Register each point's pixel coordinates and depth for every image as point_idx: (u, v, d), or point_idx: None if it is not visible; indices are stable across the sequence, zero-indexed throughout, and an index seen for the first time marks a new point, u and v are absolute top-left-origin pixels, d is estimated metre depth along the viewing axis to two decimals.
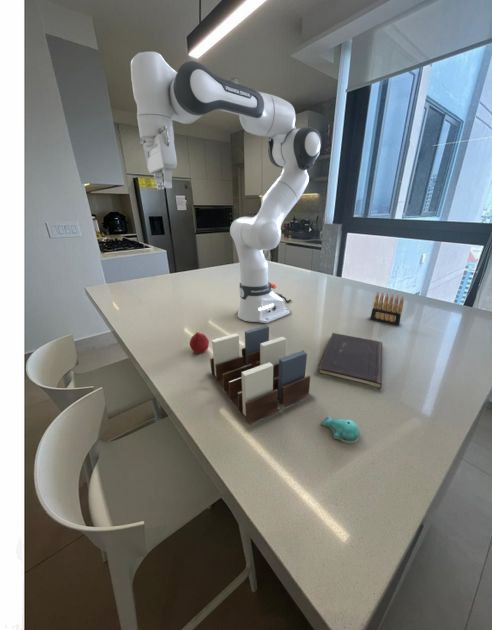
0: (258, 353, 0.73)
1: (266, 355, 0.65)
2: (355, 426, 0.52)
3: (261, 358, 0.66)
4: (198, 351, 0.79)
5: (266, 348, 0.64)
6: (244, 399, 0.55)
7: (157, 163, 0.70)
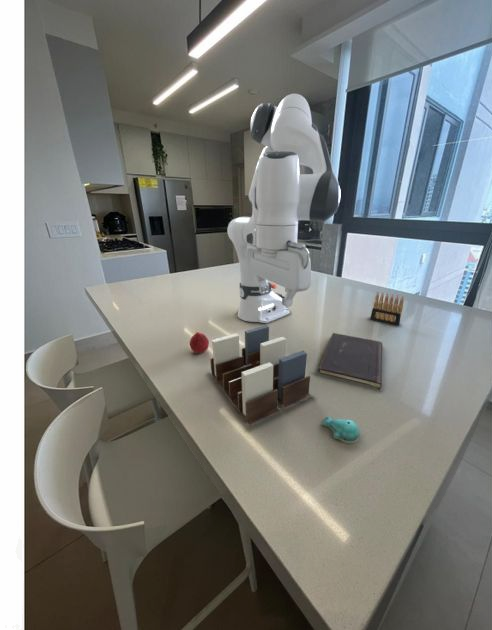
0: (258, 353, 0.73)
1: (266, 355, 0.65)
2: (355, 426, 0.52)
3: (261, 358, 0.66)
4: (198, 351, 0.79)
5: (266, 348, 0.64)
6: (244, 399, 0.55)
7: (278, 279, 0.55)
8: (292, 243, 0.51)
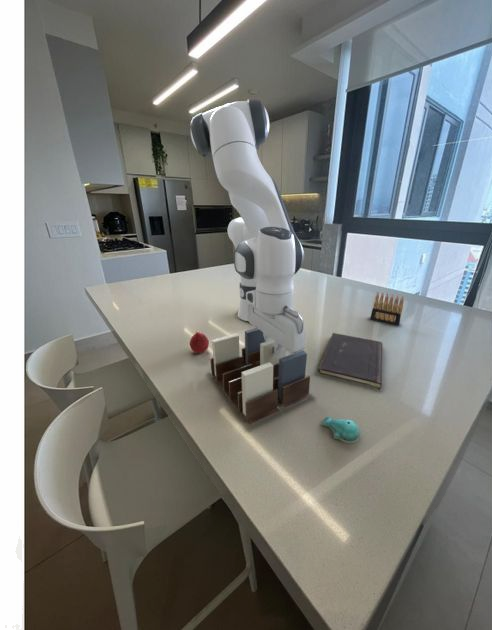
0: (258, 353, 0.73)
1: (266, 355, 0.65)
2: (355, 426, 0.52)
3: (261, 358, 0.66)
4: (198, 351, 0.79)
5: (266, 348, 0.64)
6: (244, 399, 0.55)
7: (276, 338, 0.60)
8: (288, 310, 0.56)
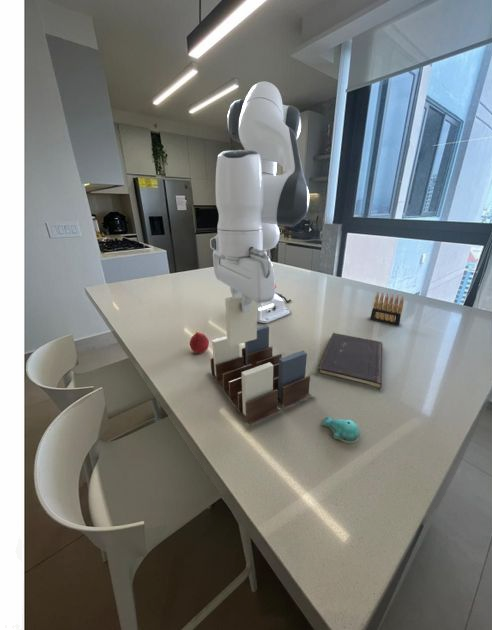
0: (258, 353, 0.73)
1: (232, 312, 0.55)
2: (355, 426, 0.52)
3: (227, 316, 0.56)
4: (198, 351, 0.79)
5: (232, 303, 0.54)
6: (244, 399, 0.55)
7: (242, 288, 0.51)
8: (254, 250, 0.47)
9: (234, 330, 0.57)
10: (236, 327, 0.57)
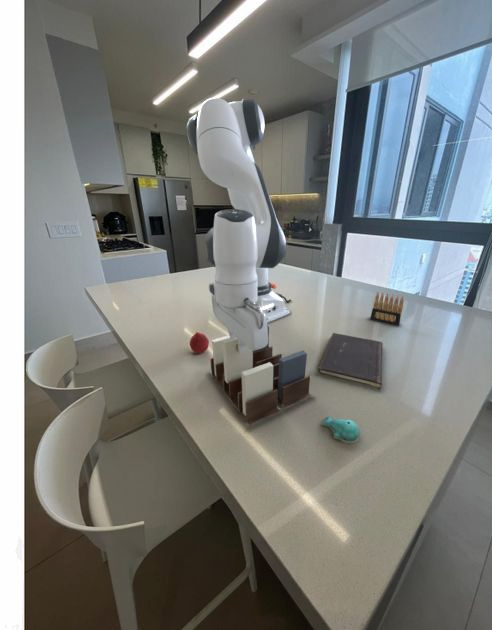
0: (258, 353, 0.73)
1: (229, 353, 0.59)
2: (355, 426, 0.52)
3: (224, 356, 0.59)
4: (198, 351, 0.79)
5: (229, 345, 0.58)
6: (244, 399, 0.55)
7: (238, 334, 0.54)
8: (248, 302, 0.50)
9: (231, 368, 0.61)
10: (233, 366, 0.61)
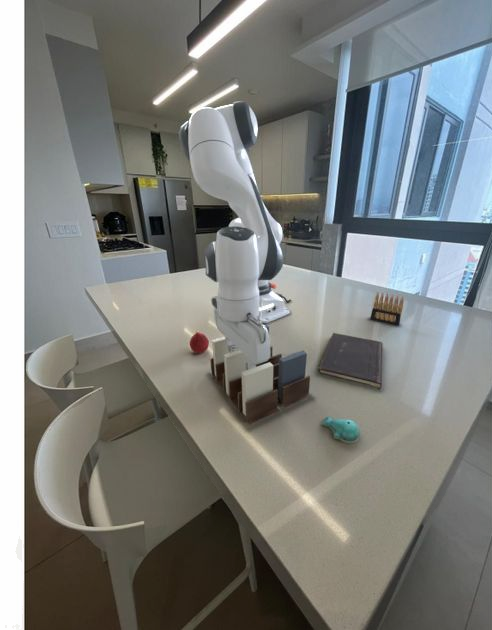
0: None
1: (230, 367, 0.60)
2: (355, 426, 0.52)
3: (225, 370, 0.61)
4: (198, 351, 0.79)
5: (230, 359, 0.60)
6: (244, 399, 0.55)
7: (241, 347, 0.56)
8: (251, 317, 0.52)
9: None
10: None
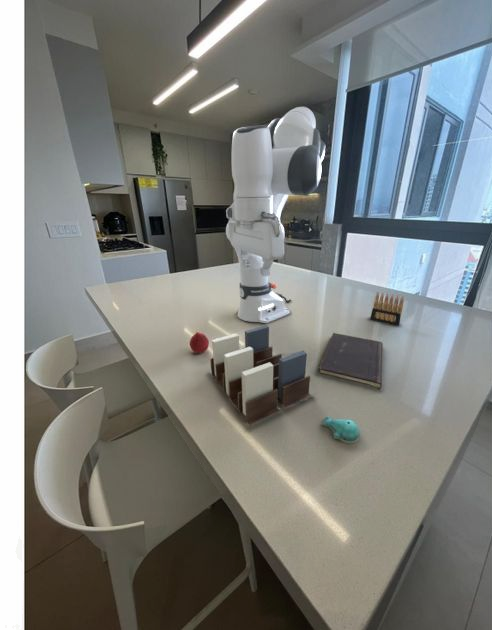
0: (258, 353, 0.73)
1: (230, 367, 0.60)
2: (355, 426, 0.52)
3: (225, 370, 0.61)
4: (198, 351, 0.79)
5: (230, 359, 0.60)
6: (244, 399, 0.55)
7: (255, 249, 0.59)
8: (266, 214, 0.54)
9: None
10: None
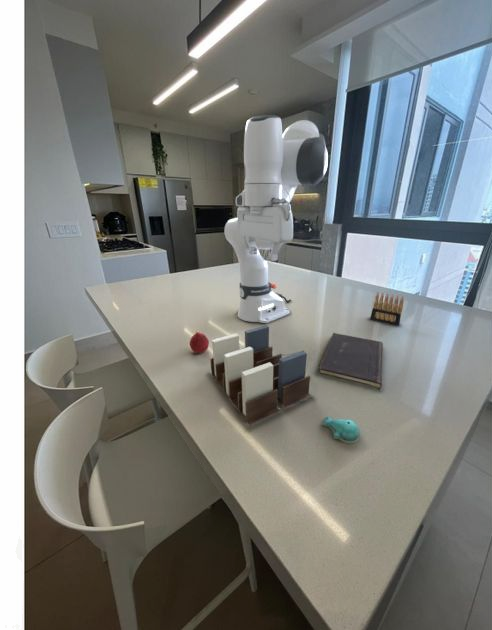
0: (258, 353, 0.73)
1: (230, 367, 0.60)
2: (355, 426, 0.52)
3: (225, 370, 0.61)
4: (198, 351, 0.79)
5: (230, 359, 0.60)
6: (244, 399, 0.55)
7: (265, 234, 0.61)
8: (276, 199, 0.57)
9: None
10: None
